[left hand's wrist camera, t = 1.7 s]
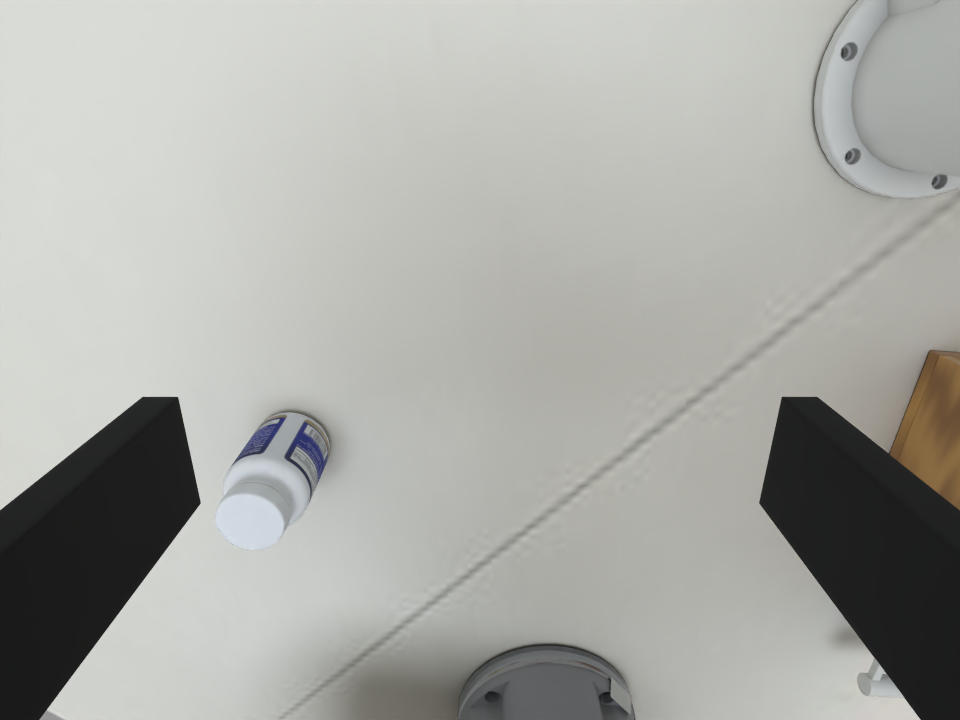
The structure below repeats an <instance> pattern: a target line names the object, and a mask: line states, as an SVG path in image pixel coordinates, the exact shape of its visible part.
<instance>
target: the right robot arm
mask: <svg viewBox="0 0 960 720" xmlns="http://www.w3.org/2000/svg"><path fill="white" fill-rule="evenodd" d="M841 49H843V52H844V53H843V56H842V57H841ZM814 115H815V127H816V130H817V134H818V138H819V142H820V145H821V147H822V149H823V151H824V153H825V155H826V157H827V159H828V161H829V163H830V164H831V165H832V166H833V167H834V168H835V170H836V171H837V172H838V173H839V174H840V175H841V177H843V178H844V179H846V180H847V181H848V182H850V183H851V184H853V185H854V186H855V187H857V188H860V189H862V190H865V191H867V192H869V193H872V194H875V195H881V196H885V197H890V198H903V199H916V198H923V197H931V196H935V195H938V194H942V193H945V192H948V191H951V190H954V189H956V188H958V187H960V0H858V1H857V2H856V3H855V4H854V5H853V7H852V8H851V9H850V10H849V12H848V13H847V15H846V16H845V18H844V19H843V21H842V22H841V24H840V25H839V26H838V28H837V29H836V31H835V33H834V35H833V37H832V39H831V41H830V43H829V46H828V48H827V50H826V52H825V54H824V56H823V60H822V63H821V67H820V70H819V73H818V77H817V81H816V89H815V97H814ZM846 153H847V154H848V155H847V158H846V159H845V156H846Z"/></svg>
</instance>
